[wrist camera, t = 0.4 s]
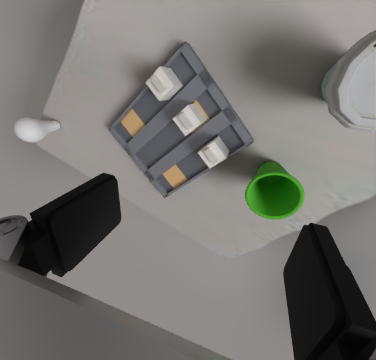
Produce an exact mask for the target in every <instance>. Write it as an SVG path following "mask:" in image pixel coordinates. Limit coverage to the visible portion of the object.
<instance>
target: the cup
mask: <svg viewBox="0 0 376 360" xmlns="http://www.w3.org/2000/svg"><path fill="white" fill-rule="evenodd" d="M245 199H246V202H247V204H248V206H249V208H250V209H251V210H252V211H253V212H254V213H256V214H257V215H259V216H261V217H264V218H268V219H282V218H286V217H289V216H291V215H293V214H294V213H295V212H297V211H298V210H299V208H300V207H301V206H302V204H303V201H304V190H303V187H302V186H301V184H300V182H299V181H298V180H297V179H296V178H294V177H292V176H291V175H289V174H288V172H287V171H286V170H285V169H284V168H283V167H282V166H281V165H280V164H279V163H277V162H273V161H269V162H265V163H263V164H262V165H261V166H260V167H259V168H258V170H257V172H256V174H255V176H254V178H253V180H252V181H251V182H250V183H249V185H248V186H247V189H246V192H245Z"/></svg>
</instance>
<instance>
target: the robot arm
mask: <svg viewBox="0 0 376 360" xmlns="http://www.w3.org/2000/svg"><path fill="white" fill-rule="evenodd" d="M30 215H31V218H32V220H31V221H30V222H28V220H27V218H26V217H24V216H19V215H14V216H8V217H4V218H1V219H0V360H231V359H229V358H227V357H225V356H223V355H220V354H218V353H216V352H213V351H211V350H209V349H207V348H205V347H203V346H200V345H198V344H196V343H194V342H191V341H189V340H187V339H185V338H182V337H180V336H178V335H176V334H173V333H171V332H169V331H167V330H165V329H162V328H160V327H158V326H156V325H153V324H151V323H149V322H147V321H144V320H142V319H140V318H138V317H135V316H133V315H131V314H129V313H126V312H124V311H122V310H120V309H117V308H115V307H113V306H111V305H108V304H106V303H103V302H102V301H99V300H97V299H95V298H92V297H90V296H88V295H86V294H83V293H81V292H79V291H76V290H74V289H72V288H70V287H67V286H65V285H63V284H60V283H58V282H56V281H54V280H51V279H49V278H47V273H48V272H49V271H50V270H51V271H52V273H53V274H55V275H58V276H60V277H62V276H64V275H65V273H67V272H68V271H71V270H72V269H73V268H74V267H75V266H76V265H77V264H78V263H79V262H81V260H83V259H84V258H85V257H86V255H87V254H89V253H90V252H91V251H92V250H93V249H94V248H95V247H96V246H97V245H98V244H99V243H100V242H101V241H102V240H103V239H104V238H105V237H106V236H107V235H108V234H109V233H110V232H111V231H112V230H113V229H114V228H115V227H116V226H117V225H118V224H119V223H120V221H121V211H120V202H119V192H118V182H117V179H116V178H115V176H113V175H110V174H106V173H102V174H100V175H98V176H96V177H95V178H93V179H91V180H89V181H87V182H86V183H84V184H82V185H80V186H78V187H77V188H75V189H73V190H71V191H69V192H68V193H66V194H64V195H62V196H61V197H58V198H57V199H55V200H53V201H51V202H49V203H48V204H46V205H44V206H42V207H41V208H39V209H37V210H35V211H33V212H31V213H30ZM283 274H284V283H285V291H286V298H287V306H288V314H289V321H290V329H291V337H292V345H293V352H294V360H376V321H375V319H374V317H373V315H372V313H371V311H370V309H369V307H368V305H367V303H366V301H365V299H364V297H363V295H362V293H361V291H360V289H359V287H358V285H357V283H356V280H355V278H354V276H353V274H352V272H351V270H350V269H349V268H348V266H346V264H345V262H344V260H343V258H342V256H341V254H340V252H339V250H338V248H337V246H336V244H335V242H334V240H333V237H332V235H331V233H330V231H329V230H328V228H327V227H326V226H322V225H318V224H314V223H310V224H309V225H304V226H303V228H302V230H301V232H300V234H299V237H298V239H297V241H296V243H295V245H294V247H293V250H292V252H291V254H290V256H289V258H288V261H287V263H286V265H285V267H284V273H283Z"/></svg>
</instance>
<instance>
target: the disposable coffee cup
mask: <svg viewBox="0 0 376 360" xmlns="http://www.w3.org/2000/svg"><path fill="white" fill-rule="evenodd" d="M321 90H322V96H323V98H324V99H325V101H326V103H327V104H328V110H329V113H330V114H331V115H332V116H333V117H334V118H336V119H337V120H338V121H339V122H340V123H341V124H342V125H343V126H344V127H345V128H351V129H357V130H364V131H370V132H376V30H375V31H373V32H371V33H369V34H368V35H366V36H365V37H363V38H362V39H360V40H359V41H358V42H357V43H356V44H354V45H353V46H352V47H351V48H350V49H349V50H348V51H347V52H346V53H345V54H344V55H343V56H342V57H341V58H340V59H339V60H338V61H337V63H336V64H335V65H334V66H333V67H332V68H331V69H330V70H329V71H328V72H326V74H325V76H324V79H323V81H322V84H321Z"/></svg>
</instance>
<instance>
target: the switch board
mask: <svg viewBox="0 0 376 360" xmlns="http://www.w3.org/2000/svg"><path fill="white" fill-rule="evenodd" d="M163 67H167V68H171V69H172V71H173V72H174V73H175V75H176V76H177V78H178V79H179V80H180V82H181V83H182V85H183V87H182V88H181V89H180V90H179V91H178V92H177V93H176V94H175V95H174V96H173V97H172V98H171V99H170V100H163V101H159V100H158V99H157V97H156V96H155V95H154V93H153V92H152V91H151V89H150V88H149V87H148V85H147V86H146V87H145V88H144V89H143V90H142V91H141V93H140V94H139V95H138V96H137V97H136V98H135V100H134V101H133V102H132V103H131V104H130V105H129V106H128V108H127V109H126V110H125V111H124V112H123V113H122V114H121V116H120V117H119V118H118V119H117V120H116V121H115V122H114V124H113V125H112V126H111V127H110V128H109V131H110V132H111V133H112V134H113V136H114V137H115V138H116V139H117V140H118V142H119V143H120V144H121V145H122V147H123V148H124V149H125V150H126V151H127V153H128V154H129V155H130V156H131V158H132V159H133V160H134V161H135V162H136V164H137V165H138V166H139V167H140V169H141V170H142V171H143V172H144V173H145V175H146V176H147V177H148V178H149V180H150V181H151V182H152V183H153V185H154V186H155V187H156V188H157V189H158V191H159V192H160V193H161V194H162V196H163V197H164V198H165V197H167V196H169V195H170V194H172V193H173V192H175V191H177V190H178V189H180V188H181V187H183V186H185V185H186V184H188V183H189V182H191V181H193V180H194V179H196V178H197V177H199V176H201V175H202V174H204V173H205V172H207V171H209V170H210V169H212V168H213V167H215V166H217V165H218V164H220V163H221V162H223V161H225V160H226V159H228V158H229V157H231V156H233V155H234V154H236V153H237V152H239V151H241V150H242V149H244V148H245V147H247V146H249V145H250V144H252V143H253V142H254V139H253V137H252V136H251V134H250V133H249V131H248V130H247V128H246V127H245V125H244V124H243V123H242V121H241V120H240V118H239V117H238V115H237V114H236V112H235V111H234V109H233V108H232V106H231V105H230V103H229V102H228V100H227V99H226V97H225V96H224V94H223V93H222V91H221V90H220V89H219V87H218V86H217V84H216V83H215V81H214V80H213V78H212V77H211V75H210V74H209V72H208V71H207V69H206V68H205V66H204V65H203V63H202V62H201V60H200V59H199V57H198V56H197V55H196V53H195V52H194V50H193V49H192V47H191V46H190V44H188V43H187V42H184V43H183V44H182V46H181V47H180V48H179V49H178V50H177V51H176V53H175V54H174V55H173V56H172V57H171V58H170V59H169V61H168V62H167V63H166V64H165V65H164V66H163ZM193 103H196V104H197V106H198V107H199V109H200V110H201V111H202V113H203V114H204V116H205V117H206V118H207V120H206V121H205V122H204V123H202V124H201V125H200V126H199V127H197V128H196V129H195V130H194V131H192V132H191V133H189V134H188V135H186V136H185V135H184V134H183V132H182V131H181V130H180V128H179V127H178V126H177V124H176V123H175V122H174V120H173V118H174V117H175V116H176V115H177V114H179V113H180V112H181V111H182V110H183V109H184V108H185V107H186V106H187V105H190V104H193ZM217 136H219V137H220V138H221V140H222V141H223V142H224V144H225V145H226V147H227V148H228V149H229V154H228V156H227V158H226V159H225V160H223V161H221V162H220V163H218V164H217V165H215V166H213V167H212V168H210V169H209V167H208V166H207V165H206V163H205V162H204V161H203V159H202V158H201V157H200V155H199V154H198V152H199V151H200V150H201V149H202V148H203V146H205V145H206V144H208V143H209V142H210V141H212V140H213V139H214V138H216V137H217Z"/></svg>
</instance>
